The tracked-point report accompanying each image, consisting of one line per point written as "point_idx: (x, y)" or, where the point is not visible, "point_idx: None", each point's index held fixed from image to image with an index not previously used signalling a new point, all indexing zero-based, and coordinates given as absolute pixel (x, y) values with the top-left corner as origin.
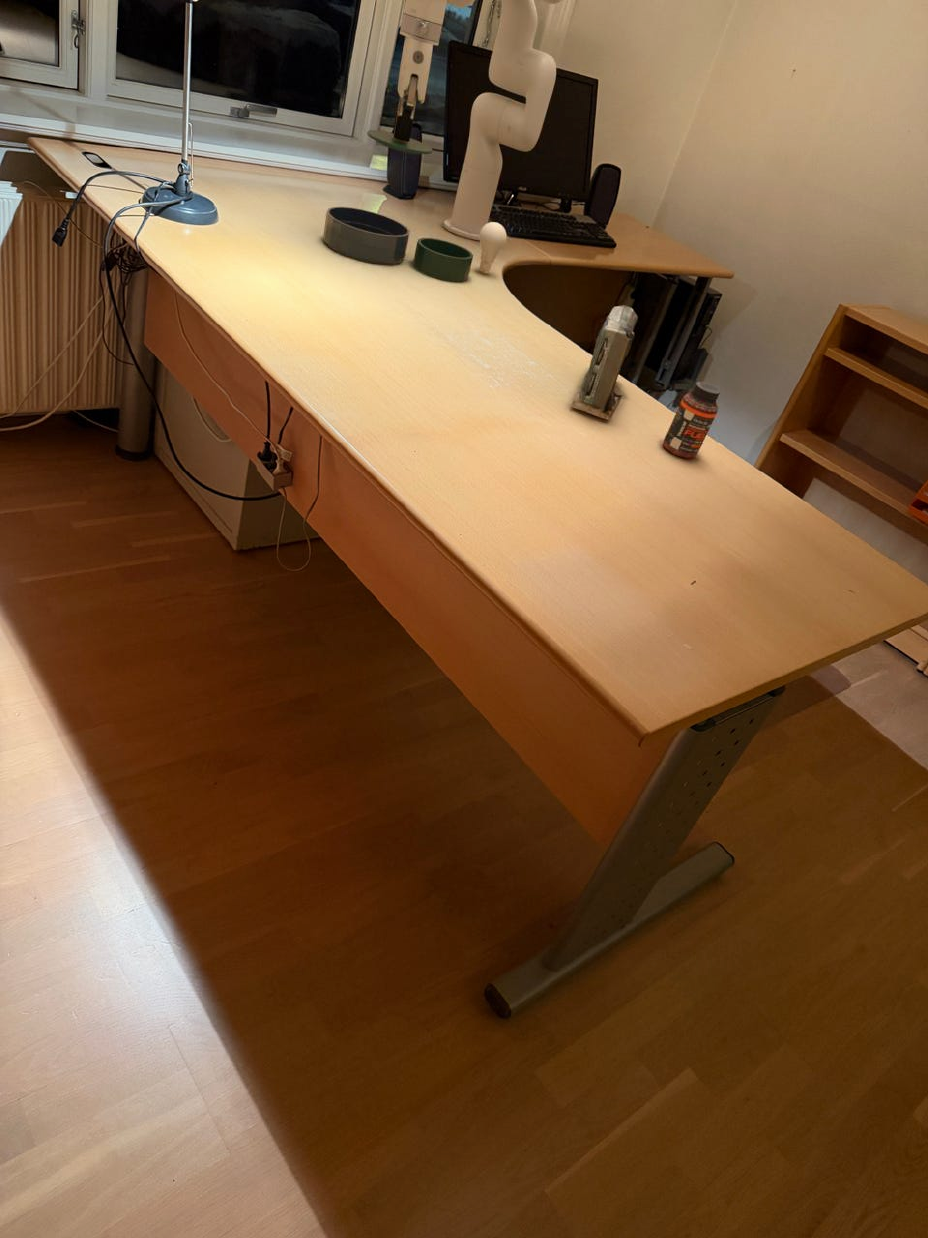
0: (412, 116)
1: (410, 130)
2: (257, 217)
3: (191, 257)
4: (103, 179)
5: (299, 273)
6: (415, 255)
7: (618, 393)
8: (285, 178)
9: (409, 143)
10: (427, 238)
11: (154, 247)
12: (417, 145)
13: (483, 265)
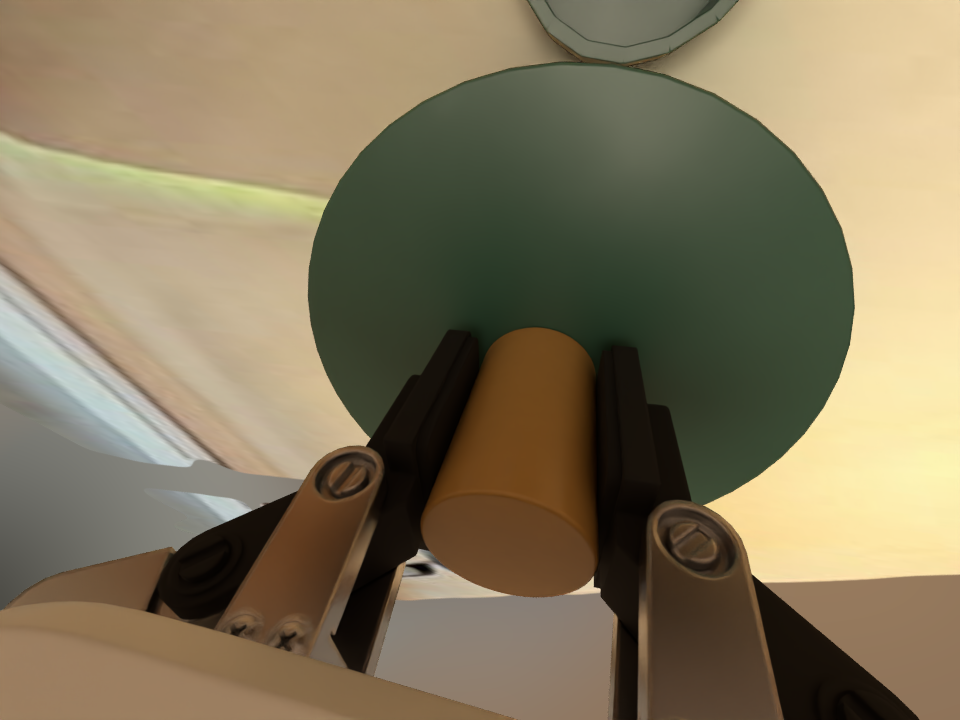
0: (741, 556)
1: (646, 406)
2: None
3: (814, 547)
4: None
5: (856, 410)
6: (634, 63)
7: None
8: (172, 367)
9: (563, 313)
10: (541, 1)
11: (779, 575)
12: (560, 243)
13: None
